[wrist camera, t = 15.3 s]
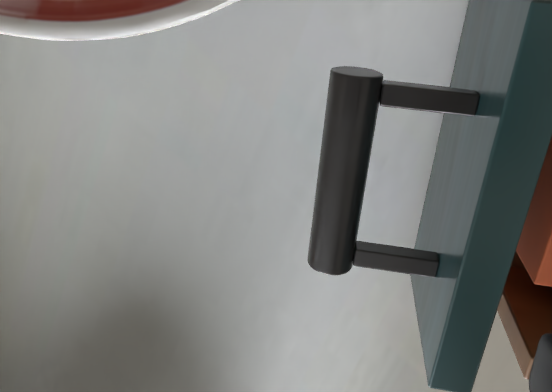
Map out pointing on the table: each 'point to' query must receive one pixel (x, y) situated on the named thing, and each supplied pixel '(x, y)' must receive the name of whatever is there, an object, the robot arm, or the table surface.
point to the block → (539, 229)
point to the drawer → (453, 188)
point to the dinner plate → (98, 17)
